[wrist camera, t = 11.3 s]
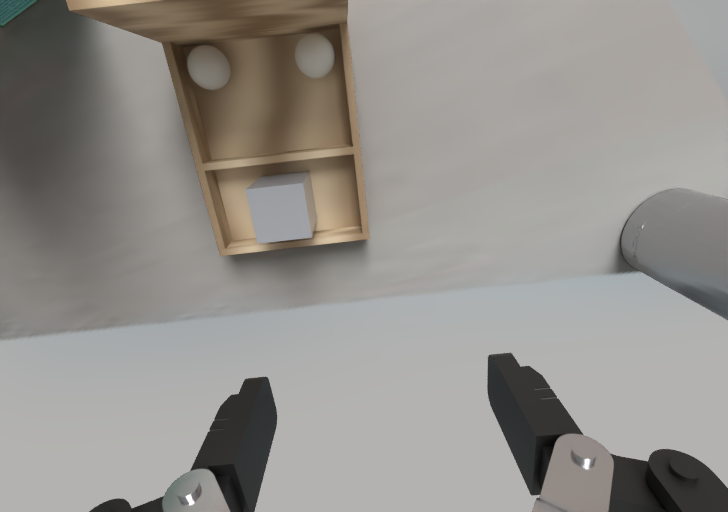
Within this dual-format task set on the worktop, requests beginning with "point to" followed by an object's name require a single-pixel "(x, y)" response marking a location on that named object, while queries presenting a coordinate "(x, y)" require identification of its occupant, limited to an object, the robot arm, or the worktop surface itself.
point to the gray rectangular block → (282, 207)
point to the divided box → (259, 107)
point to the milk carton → (12, 9)
